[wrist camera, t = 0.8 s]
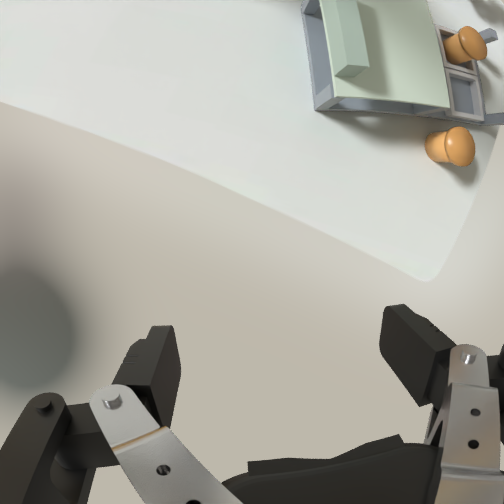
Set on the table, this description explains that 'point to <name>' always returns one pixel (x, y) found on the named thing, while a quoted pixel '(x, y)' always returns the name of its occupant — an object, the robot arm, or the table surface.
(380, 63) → the lid
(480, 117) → the housing
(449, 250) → the table surface
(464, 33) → the ball
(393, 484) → the robot arm
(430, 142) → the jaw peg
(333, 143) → the table surface
